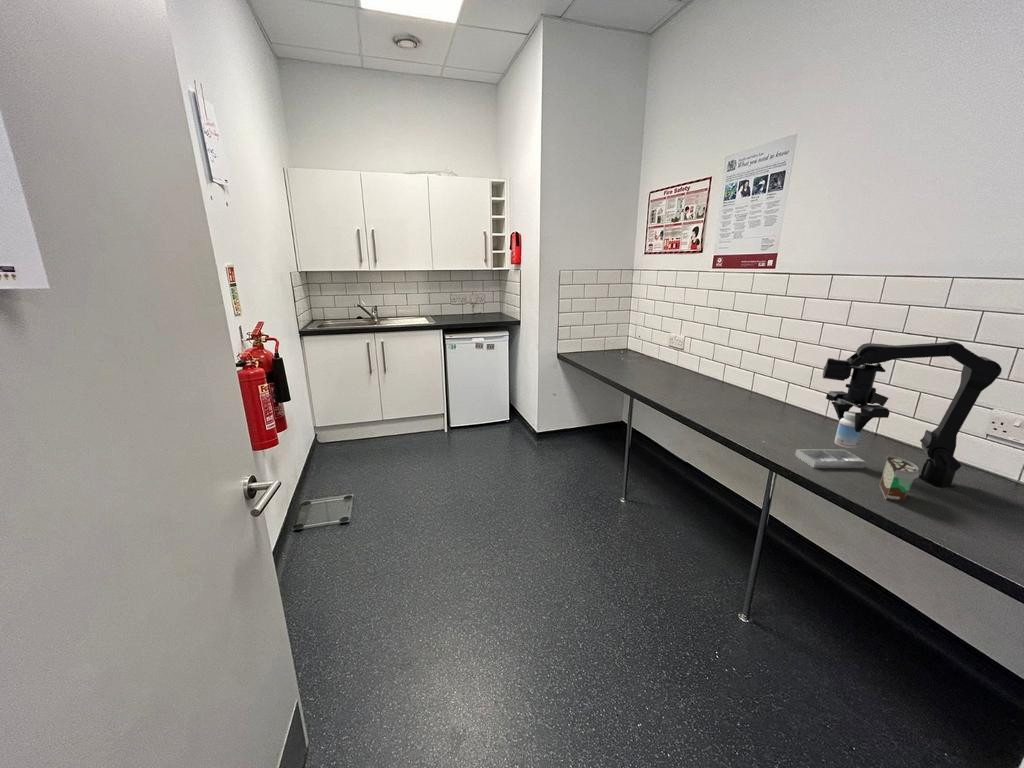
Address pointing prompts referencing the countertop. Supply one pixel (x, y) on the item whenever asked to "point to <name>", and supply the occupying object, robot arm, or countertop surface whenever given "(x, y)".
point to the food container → (897, 478)
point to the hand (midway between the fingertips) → (849, 428)
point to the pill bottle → (847, 431)
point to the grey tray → (829, 458)
